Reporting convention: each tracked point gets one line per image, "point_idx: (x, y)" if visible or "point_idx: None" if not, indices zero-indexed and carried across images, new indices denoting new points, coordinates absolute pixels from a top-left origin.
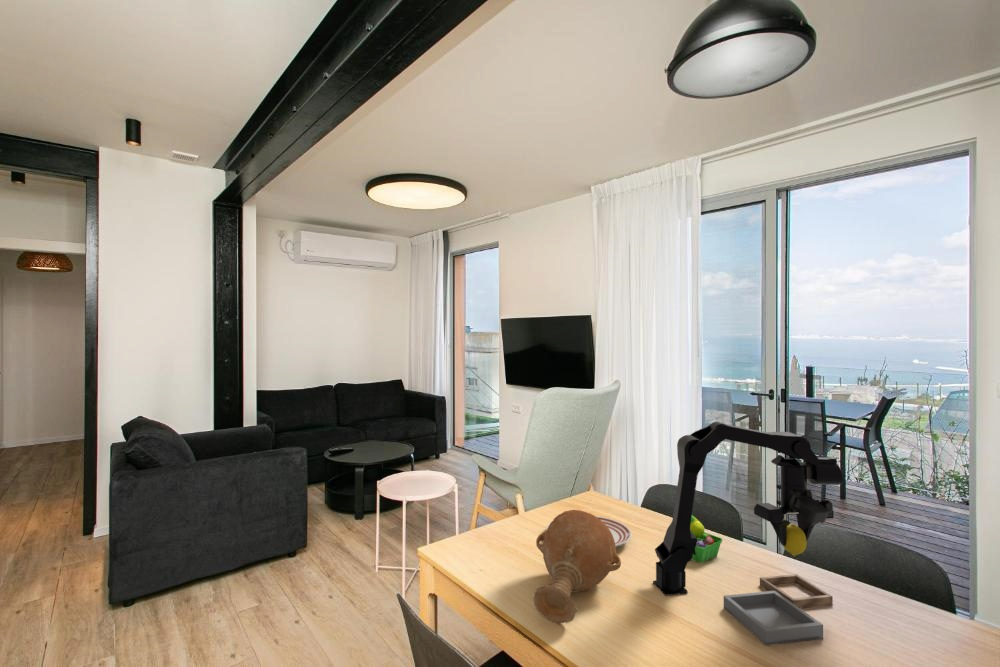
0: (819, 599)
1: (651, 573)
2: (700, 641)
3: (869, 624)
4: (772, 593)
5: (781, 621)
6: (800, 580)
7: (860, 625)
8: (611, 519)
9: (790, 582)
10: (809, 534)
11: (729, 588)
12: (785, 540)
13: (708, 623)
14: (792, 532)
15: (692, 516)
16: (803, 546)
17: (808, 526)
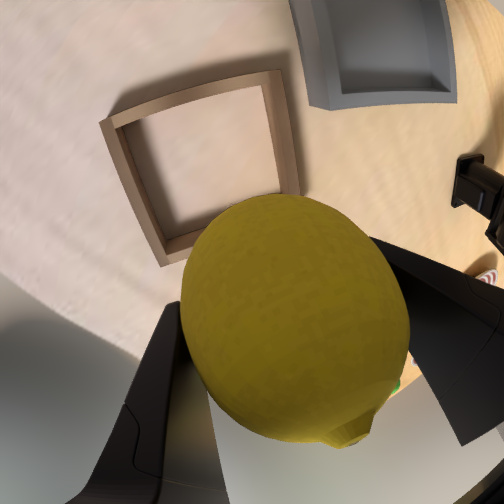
0: (157, 98)
1: (459, 229)
2: (483, 26)
3: (61, 24)
4: (346, 93)
5: (354, 6)
6: (159, 235)
7: (93, 8)
8: (413, 364)
9: (187, 236)
10: (139, 379)
11: (381, 182)
12: (397, 254)
13: (467, 59)
14: (402, 323)
15: (393, 391)
16: (251, 212)
17: (165, 470)
